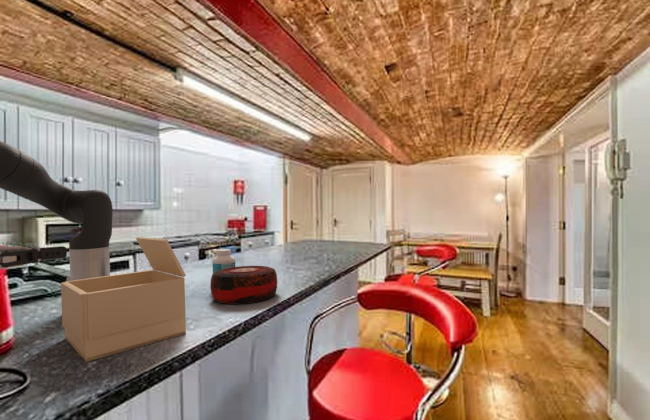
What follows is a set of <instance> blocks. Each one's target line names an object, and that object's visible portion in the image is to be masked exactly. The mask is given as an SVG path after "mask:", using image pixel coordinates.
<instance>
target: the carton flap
mask: <svg viewBox="0 0 650 420" xmlns="http://www.w3.org/2000/svg"><path fill="white" fill-rule="evenodd" d="M135 239H136V241H137V244H138V245H139V247H140V248H141V250H142V252H143V254H144V256H145V257H146V260H147V261H148V263H149V265H150V267H151V268H152V270H155V271H159V272H163V273H167V274H171V275H175V276H179V277H183V278H185V277H186V276H187V275H186V273H185V271H184V269H183V267H182V265H181V263H180V262H179V260H178V257H177V256H176V254H175V252H174V250H173V248H172V246H171V244H170V243H169V241H168V239H165V238H156V237H155V238H154V237H153V238H152V237H141V236H140V237H136V238H135Z"/></svg>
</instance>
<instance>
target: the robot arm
mask: <svg viewBox="0 0 650 420" xmlns="http://www.w3.org/2000/svg"><path fill="white" fill-rule="evenodd" d="M0 189H1V190H3V191H5V192H9V193H11V194H13V195H16V196H18V197H20V198H22V199H25V200H28V201H30V202H32V203H35V204H37V205H40V206H41V207H44V208H45V209H47V210H49V211H50V212H53V214H56V215H58V216H59V217H61V218H62V219H64V220H66V221H68V222H70V223H73V224H82V225H81V231H80V232H79V233H78V234H77V235H75V236H73V237H71V238H70V239H69V242H68V245H69V246H68V249H69V252H68V253H69V254H68V253H67V251H68V250H67V247H66V246H63V245H62V246H61V245H59V246H47V247H39V246H26V247H25V246H22V245H13V246H12V245H11V246H8V245H7V246H1V245H0V271H1V270H3V269H8V268H16V267H22V266H25V265H29V264H36V263H39V262H41V261H47V260H48V261H49V260H59V259H65V258H67V255H69V256H68V257H69V276H67V277H66V280H65V281H73V280H81V279H88V278H96V277H103V276H110V275H111V268H110V267H111V265H110V263H111V262H110V261H111V258H110V240H111V237H112V235H113V215H114V214H113V211H114V210H113V203H112V200H111V198H110V195H109V194H108V193H107V192H105V191H103V190H99V189H89V190H76V189H74V188H73V189H72V188H70V187H67V186H65V185H63V184H62V183H59V182H57V181H56V180H54V179H53V178H52V177H51V176H50V174H49V173H48V171H47V170H46V167H44V165H42V163H41V162H39V161H38V160H37V159H36V158H34V157H32V156H31V155H29V154H27V153H25V152H24V151H22V150H20V149H18V148H17V147H15V146H12V145H10V144H9V143H6V142H3V141H2V140H1V141H0Z"/></svg>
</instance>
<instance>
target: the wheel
mask: <svg viewBox="0 0 650 420" xmlns="http://www.w3.org/2000/svg"><path fill="white" fill-rule="evenodd" d="M277 289H278V274H277V271H276V269H275V268H273V267H270V266H267V265H266V266H265V265H243V266H242V265H240V266H235V267H231V268H225V269H221V270H218V271H216V272H214V273H213V272H212V275H211V277H210V293H211V297H212V298H213V301H215V302H216V303H217V302H218V303H220V304H225V305H246V304H247V305H248V304H254V303H259V302H263V301H266V300H269V299H271V298H272V297H275V296H276V293H277Z"/></svg>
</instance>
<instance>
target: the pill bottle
mask: <svg viewBox="0 0 650 420" xmlns="http://www.w3.org/2000/svg"><path fill="white" fill-rule="evenodd" d="M231 254H232V249H229V248H228V249H227V248H226V249H225V248H223V249H217V250H216V256H215V257H214V258H213V259H212V274H213V273H214V272H216V271H218V270H221V269H225V268H231V267H236V258H235V257H234V256H233V255H231Z"/></svg>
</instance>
